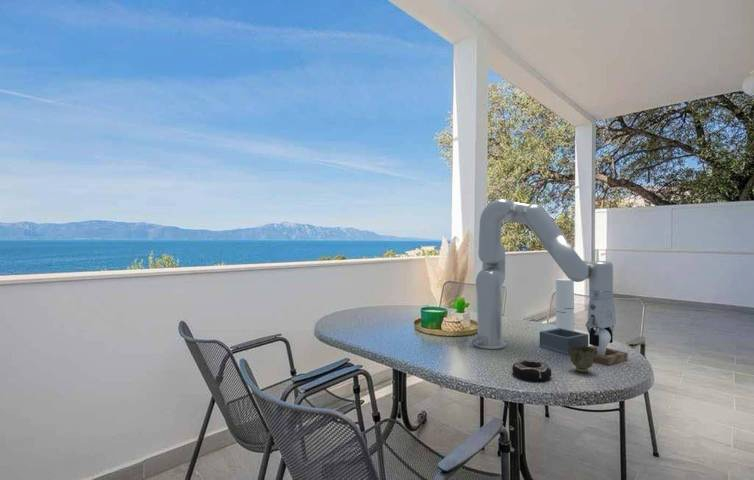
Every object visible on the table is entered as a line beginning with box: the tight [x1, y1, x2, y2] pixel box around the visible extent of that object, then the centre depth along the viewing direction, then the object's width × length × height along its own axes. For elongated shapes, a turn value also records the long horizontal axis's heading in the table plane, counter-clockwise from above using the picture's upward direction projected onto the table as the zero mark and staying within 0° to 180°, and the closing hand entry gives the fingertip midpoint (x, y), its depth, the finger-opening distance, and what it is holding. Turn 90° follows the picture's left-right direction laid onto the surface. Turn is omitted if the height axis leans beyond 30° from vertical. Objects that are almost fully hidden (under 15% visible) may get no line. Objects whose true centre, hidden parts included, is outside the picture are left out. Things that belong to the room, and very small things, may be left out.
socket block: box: [588, 345, 629, 367], centre depth 142 cm, size 12×12×2 cm
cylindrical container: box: [555, 278, 575, 331], centre depth 174 cm, size 7×7×25 cm
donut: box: [511, 359, 552, 382], centre depth 125 cm, size 12×12×4 cm
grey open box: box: [539, 327, 589, 356], centre depth 155 cm, size 12×12×6 cm
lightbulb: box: [594, 328, 611, 356], centre depth 142 cm, size 6×6×11 cm
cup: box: [569, 345, 595, 374], centre depth 128 cm, size 8×7×8 cm
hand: (601, 343), depth 142 cm, fingers open, 7 cm apart
